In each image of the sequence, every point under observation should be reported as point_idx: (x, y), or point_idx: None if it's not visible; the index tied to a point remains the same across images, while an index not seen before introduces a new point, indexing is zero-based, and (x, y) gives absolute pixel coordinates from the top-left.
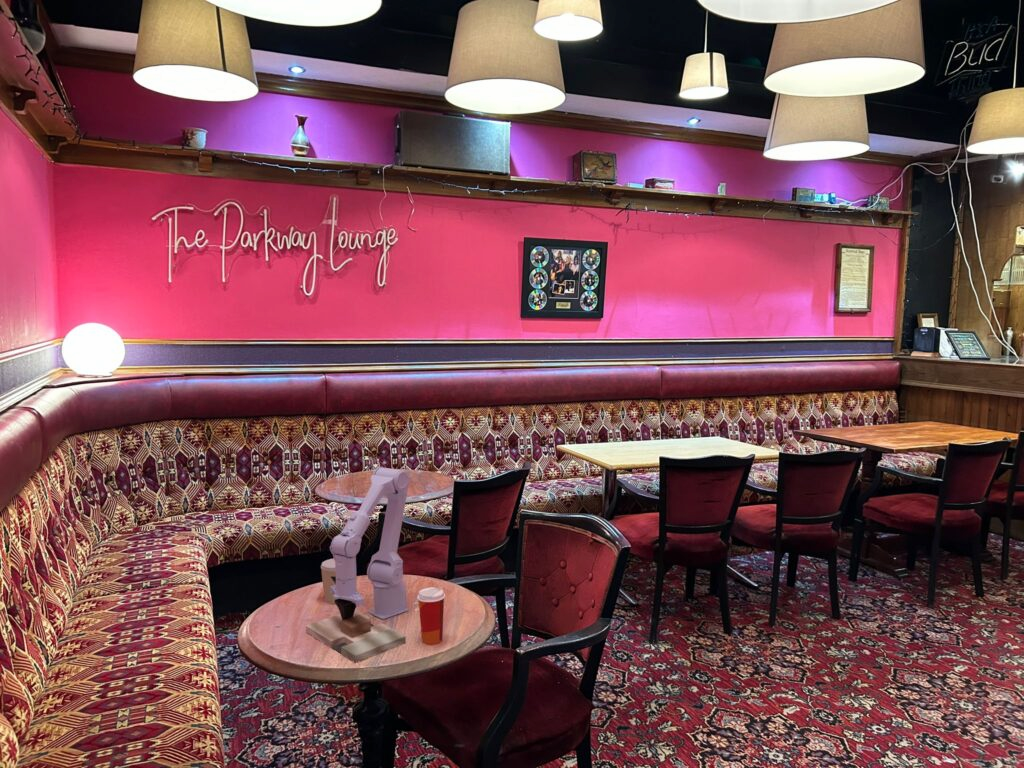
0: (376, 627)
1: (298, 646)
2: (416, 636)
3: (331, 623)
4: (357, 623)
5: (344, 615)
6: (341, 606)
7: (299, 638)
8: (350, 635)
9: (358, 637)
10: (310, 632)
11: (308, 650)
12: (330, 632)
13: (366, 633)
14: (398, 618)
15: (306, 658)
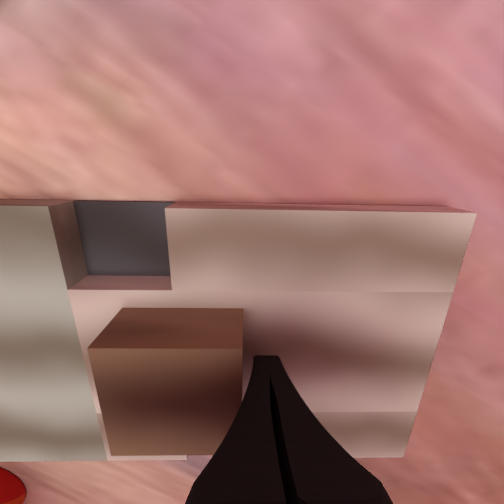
0: None
1: (335, 73)
2: (54, 473)
3: (367, 324)
4: (128, 398)
5: (242, 402)
6: (240, 477)
7: (417, 138)
8: (135, 312)
9: None
10: (405, 208)
11: (243, 89)
12: (273, 264)
13: None
14: None
15: (152, 13)
